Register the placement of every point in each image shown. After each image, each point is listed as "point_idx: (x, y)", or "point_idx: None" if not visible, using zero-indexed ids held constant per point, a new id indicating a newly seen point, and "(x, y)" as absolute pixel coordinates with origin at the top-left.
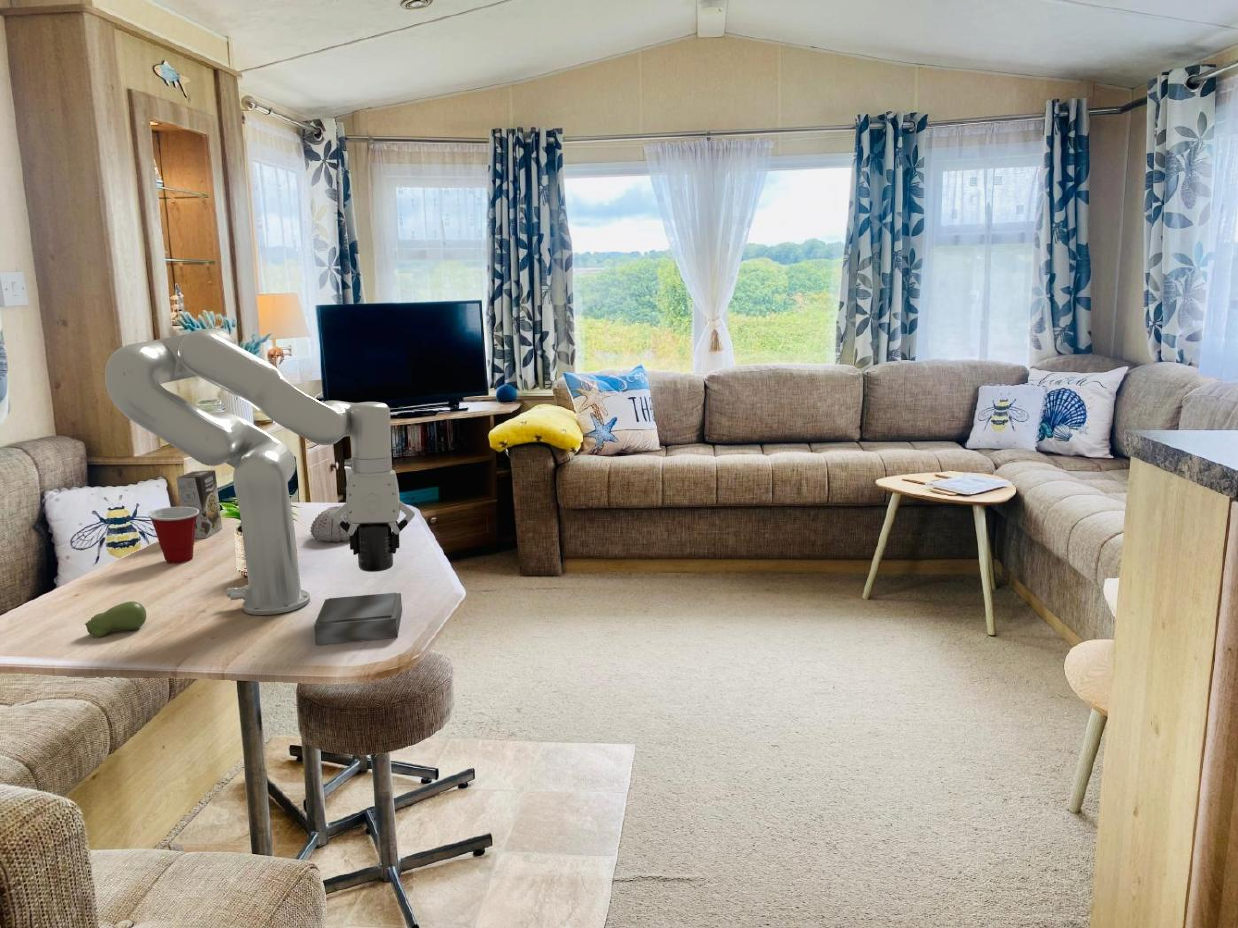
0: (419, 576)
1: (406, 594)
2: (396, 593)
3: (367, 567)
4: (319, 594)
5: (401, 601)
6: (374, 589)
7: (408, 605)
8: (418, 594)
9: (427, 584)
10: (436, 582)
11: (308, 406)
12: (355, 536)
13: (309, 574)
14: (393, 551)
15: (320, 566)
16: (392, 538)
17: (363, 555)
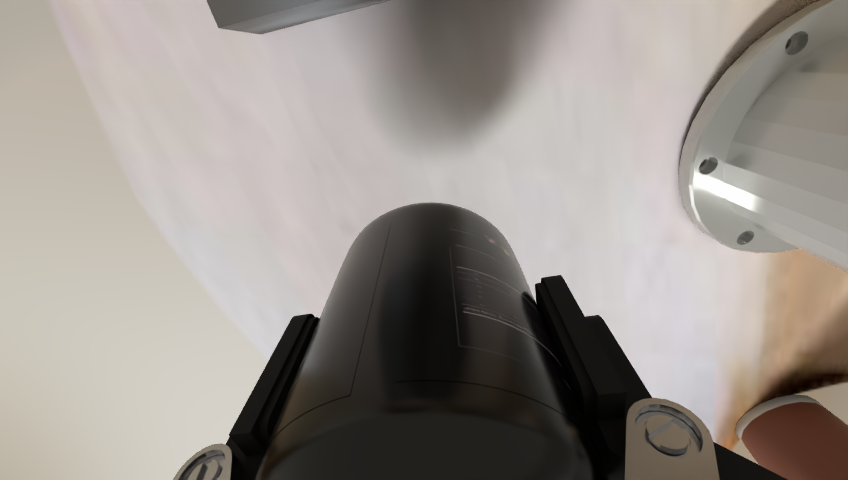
0: None
1: (330, 226)
2: (237, 16)
3: (450, 209)
4: (643, 238)
5: (241, 30)
6: None
7: (266, 105)
8: (285, 225)
9: (299, 310)
10: (278, 325)
11: None
12: (593, 392)
13: (682, 389)
14: (299, 320)
15: None
16: (264, 400)
17: (482, 252)
